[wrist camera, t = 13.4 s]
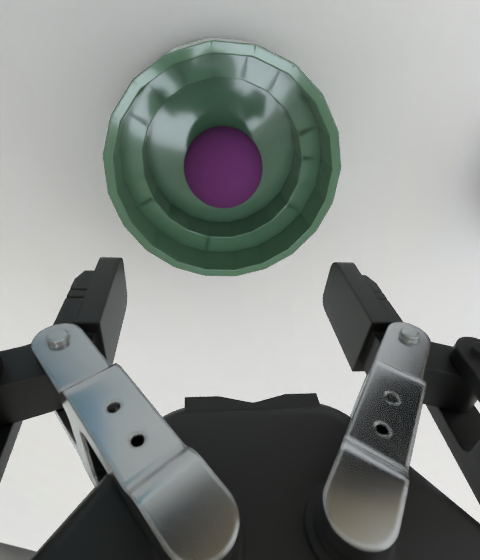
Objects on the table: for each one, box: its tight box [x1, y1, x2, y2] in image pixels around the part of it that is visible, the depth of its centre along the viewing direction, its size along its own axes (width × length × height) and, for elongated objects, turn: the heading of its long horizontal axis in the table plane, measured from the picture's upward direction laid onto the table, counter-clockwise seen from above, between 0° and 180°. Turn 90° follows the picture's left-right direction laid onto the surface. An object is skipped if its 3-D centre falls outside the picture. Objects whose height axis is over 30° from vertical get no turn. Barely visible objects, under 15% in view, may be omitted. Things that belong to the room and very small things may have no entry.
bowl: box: [103, 37, 341, 276], centre depth 26 cm, size 15×15×6 cm
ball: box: [184, 126, 263, 208], centre depth 26 cm, size 6×6×6 cm
